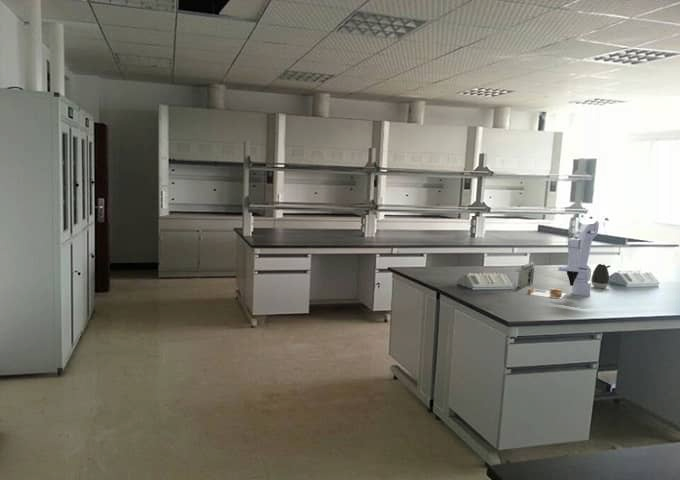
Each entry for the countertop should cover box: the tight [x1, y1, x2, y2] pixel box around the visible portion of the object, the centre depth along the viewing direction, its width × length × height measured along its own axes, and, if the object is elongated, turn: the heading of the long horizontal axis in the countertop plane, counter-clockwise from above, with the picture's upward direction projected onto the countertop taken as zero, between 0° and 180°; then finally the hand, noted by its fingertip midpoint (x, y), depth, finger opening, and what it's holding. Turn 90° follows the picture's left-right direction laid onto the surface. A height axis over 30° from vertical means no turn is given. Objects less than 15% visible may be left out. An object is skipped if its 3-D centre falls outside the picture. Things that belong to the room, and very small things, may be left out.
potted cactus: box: [590, 263, 611, 290], centre depth 329 cm, size 10×10×15 cm
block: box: [549, 287, 563, 299], centre depth 292 cm, size 5×5×4 cm
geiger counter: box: [515, 261, 535, 289], centre depth 328 cm, size 14×6×25 cm
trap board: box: [526, 287, 567, 300], centre depth 298 cm, size 18×18×4 cm
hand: (571, 285), depth 287 cm, fingers closed
